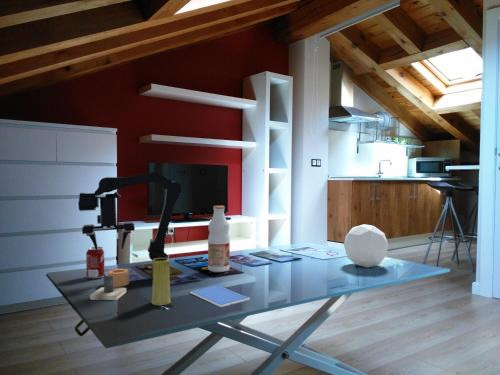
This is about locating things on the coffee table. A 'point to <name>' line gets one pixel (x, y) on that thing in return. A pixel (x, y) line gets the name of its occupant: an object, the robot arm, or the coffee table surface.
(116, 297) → the shaft block
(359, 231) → the geometric polyhedron
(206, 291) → the tablet computer
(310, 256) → the coffee table surface
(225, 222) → the fruit juice
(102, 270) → the soda can
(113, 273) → the ring
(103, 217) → the robot arm
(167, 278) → the vase
